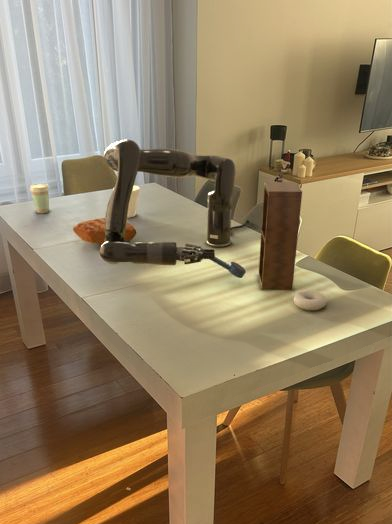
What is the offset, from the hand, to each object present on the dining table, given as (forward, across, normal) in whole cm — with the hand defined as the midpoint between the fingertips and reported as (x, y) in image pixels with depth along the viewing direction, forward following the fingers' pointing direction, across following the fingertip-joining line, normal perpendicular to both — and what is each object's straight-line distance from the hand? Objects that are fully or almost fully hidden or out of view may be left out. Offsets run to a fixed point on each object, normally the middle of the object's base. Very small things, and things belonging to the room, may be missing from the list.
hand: (214, 254), depth 178 cm
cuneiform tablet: (-42, +40, +10) cm, 59 cm away
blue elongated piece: (+2, 0, +4) cm, 4 cm away
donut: (+29, -17, +10) cm, 36 cm away
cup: (-37, +77, +10) cm, 86 cm away
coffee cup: (-78, +82, +10) cm, 114 cm away
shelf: (+21, 0, +10) cm, 23 cm away
